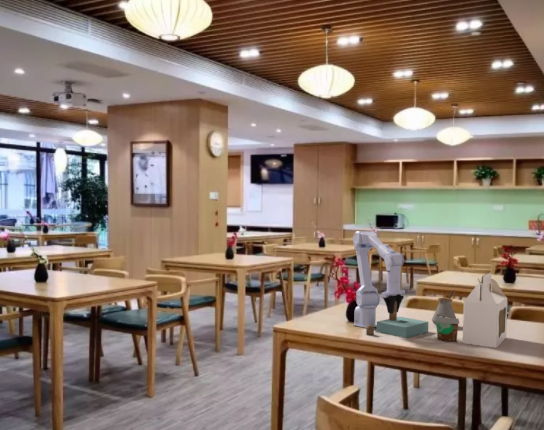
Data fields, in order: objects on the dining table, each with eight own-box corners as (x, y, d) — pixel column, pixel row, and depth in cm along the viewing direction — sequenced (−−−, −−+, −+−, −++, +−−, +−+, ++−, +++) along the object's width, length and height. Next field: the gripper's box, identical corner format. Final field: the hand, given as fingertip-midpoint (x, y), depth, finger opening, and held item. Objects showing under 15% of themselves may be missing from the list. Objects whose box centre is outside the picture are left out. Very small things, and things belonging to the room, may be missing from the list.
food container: (428, 337, 246) (428, 313, 246) (440, 336, 248) (440, 313, 248) (446, 343, 235) (447, 319, 234) (458, 342, 237) (459, 318, 237)
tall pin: (387, 319, 247) (387, 301, 247) (391, 319, 249) (392, 300, 249) (393, 321, 245) (394, 302, 245) (398, 320, 247) (398, 301, 247)
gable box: (474, 333, 255) (476, 270, 254) (506, 337, 248) (508, 273, 247) (462, 343, 236) (464, 275, 235) (496, 348, 229) (498, 278, 228)
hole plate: (376, 331, 255) (376, 321, 255) (399, 326, 268) (399, 316, 267) (405, 337, 244) (406, 327, 244) (428, 331, 257) (428, 321, 257)
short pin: (364, 334, 249) (364, 325, 249) (369, 333, 251) (369, 324, 251) (370, 335, 247) (370, 326, 247) (375, 334, 249) (375, 325, 249)
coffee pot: (454, 330, 261) (454, 297, 261) (428, 327, 267) (429, 294, 267) (464, 322, 279) (465, 291, 279) (440, 319, 285) (441, 289, 285)
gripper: (391, 283, 239) (390, 316, 239) (411, 280, 249) (410, 311, 249) (377, 281, 244) (377, 313, 244) (397, 278, 254) (396, 309, 254)
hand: (392, 312), depth 247 cm, fingers closed on tall pin, 3 cm apart
